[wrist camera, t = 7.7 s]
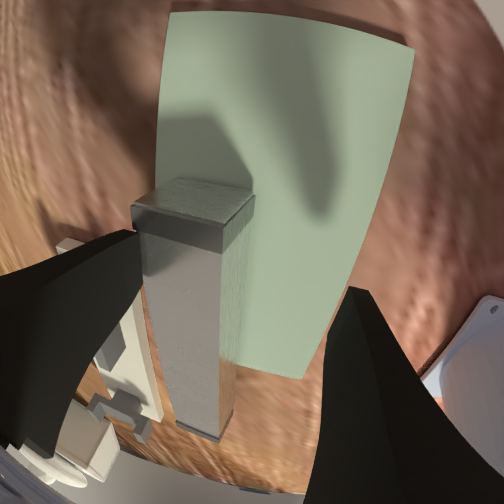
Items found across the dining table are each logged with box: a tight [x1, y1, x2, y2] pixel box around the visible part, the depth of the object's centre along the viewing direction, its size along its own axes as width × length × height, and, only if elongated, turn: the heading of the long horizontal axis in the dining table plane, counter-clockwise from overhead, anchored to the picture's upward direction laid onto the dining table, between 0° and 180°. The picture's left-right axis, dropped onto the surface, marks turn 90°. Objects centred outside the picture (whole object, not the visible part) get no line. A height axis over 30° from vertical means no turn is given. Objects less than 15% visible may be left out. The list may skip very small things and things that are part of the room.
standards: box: [56, 237, 164, 445], centre depth 17 cm, size 5×18×4 cm, turn 172°
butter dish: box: [19, 399, 120, 488], centre depth 30 cm, size 18×18×16 cm
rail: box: [130, 177, 256, 444], centre depth 13 cm, size 3×16×3 cm, turn 175°
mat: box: [155, 11, 415, 380], centre depth 11 cm, size 8×16×1 cm, turn 172°
